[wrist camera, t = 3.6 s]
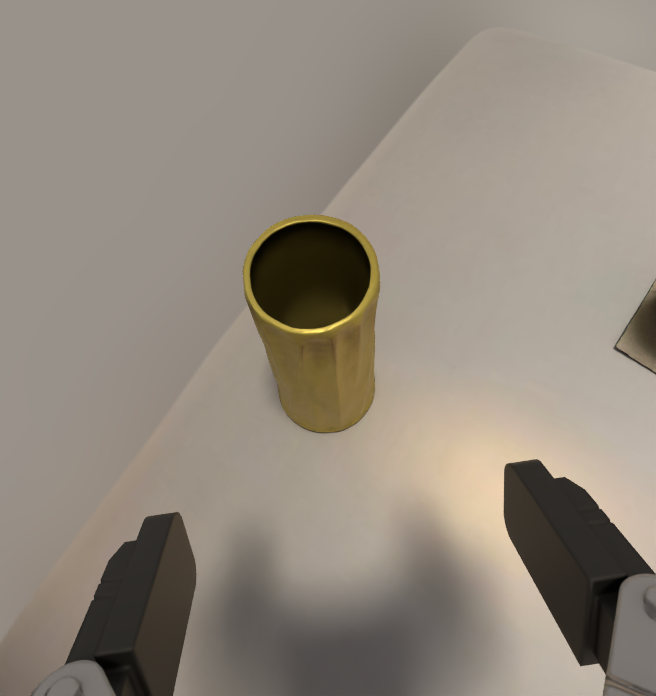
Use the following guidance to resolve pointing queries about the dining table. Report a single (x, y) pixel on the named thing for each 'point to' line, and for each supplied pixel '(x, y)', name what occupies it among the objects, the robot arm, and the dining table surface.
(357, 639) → the dining table surface
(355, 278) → the vase
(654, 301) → the condiment
